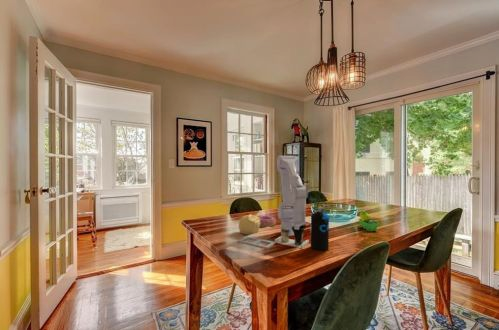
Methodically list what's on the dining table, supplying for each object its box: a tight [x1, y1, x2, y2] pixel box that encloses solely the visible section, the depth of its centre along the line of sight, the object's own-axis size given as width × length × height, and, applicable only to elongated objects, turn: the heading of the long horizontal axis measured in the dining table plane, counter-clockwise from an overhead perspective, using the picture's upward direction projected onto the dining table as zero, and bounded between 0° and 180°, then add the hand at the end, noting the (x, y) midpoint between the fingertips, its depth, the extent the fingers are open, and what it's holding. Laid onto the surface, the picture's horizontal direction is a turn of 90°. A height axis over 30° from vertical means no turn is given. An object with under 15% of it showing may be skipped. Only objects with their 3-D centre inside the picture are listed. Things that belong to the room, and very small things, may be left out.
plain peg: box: [280, 227, 290, 242], centre depth 117 cm, size 4×4×6 cm
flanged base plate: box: [274, 235, 310, 249], centre depth 115 cm, size 9×14×3 cm, turn 58°
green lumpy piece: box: [358, 210, 380, 232], centre depth 147 cm, size 11×9×11 cm
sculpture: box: [238, 213, 261, 236], centre depth 134 cm, size 11×12×11 cm
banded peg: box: [295, 232, 304, 245], centre depth 113 cm, size 4×4×6 cm
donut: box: [256, 215, 277, 228], centre depth 154 cm, size 14×14×5 cm
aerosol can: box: [310, 206, 330, 252], centre depth 108 cm, size 8×8×20 cm
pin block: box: [237, 235, 277, 249], centre depth 114 cm, size 8×16×2 cm, turn 58°
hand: (298, 240), depth 113 cm, fingers closed on banded peg, 4 cm apart
